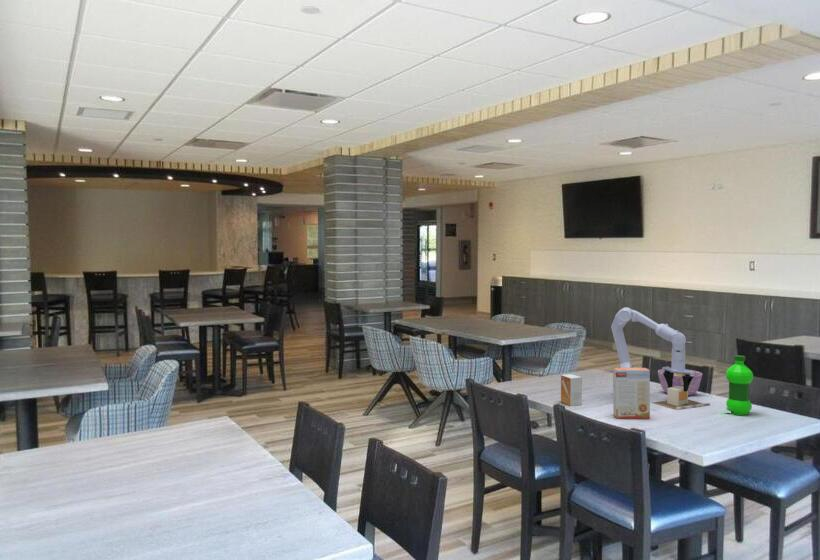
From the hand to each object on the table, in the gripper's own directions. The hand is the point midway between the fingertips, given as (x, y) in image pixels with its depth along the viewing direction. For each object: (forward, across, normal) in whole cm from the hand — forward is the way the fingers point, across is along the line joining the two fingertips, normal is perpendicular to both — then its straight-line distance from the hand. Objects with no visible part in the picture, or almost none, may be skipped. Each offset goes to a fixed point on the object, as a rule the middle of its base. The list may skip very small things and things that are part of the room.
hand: (677, 389), depth 280 cm
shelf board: (+8, +1, 0) cm, 8 cm away
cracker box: (+8, -1, -32) cm, 33 cm away
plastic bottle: (+8, +22, +10) cm, 26 cm away
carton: (+6, 0, 0) cm, 6 cm away
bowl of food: (+8, -11, +20) cm, 24 cm away
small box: (+8, -32, -34) cm, 48 cm away
